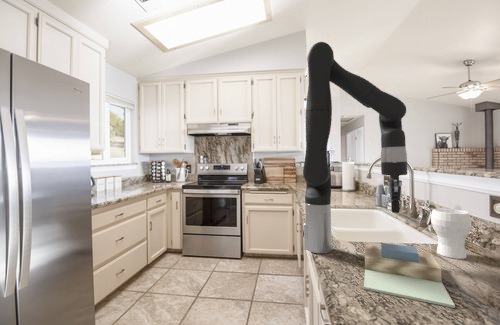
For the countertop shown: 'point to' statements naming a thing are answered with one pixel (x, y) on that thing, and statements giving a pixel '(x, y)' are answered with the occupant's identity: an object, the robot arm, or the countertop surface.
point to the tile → (399, 252)
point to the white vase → (451, 231)
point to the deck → (403, 265)
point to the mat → (407, 287)
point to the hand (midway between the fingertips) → (395, 212)
